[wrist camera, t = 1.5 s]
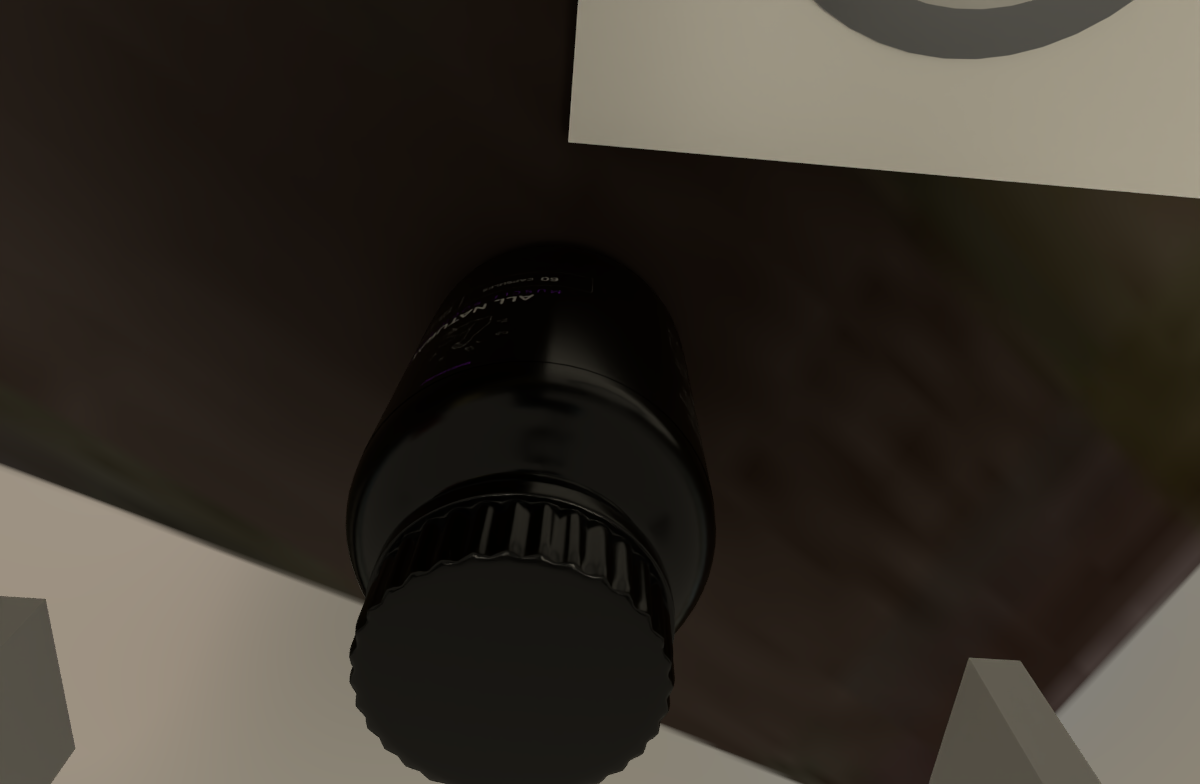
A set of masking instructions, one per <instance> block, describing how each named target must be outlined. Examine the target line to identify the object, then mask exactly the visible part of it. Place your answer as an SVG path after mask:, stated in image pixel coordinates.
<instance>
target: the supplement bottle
mask: <svg viewBox="0 0 1200 784" xmlns="http://www.w3.org/2000/svg"><path fill="white" fill-rule="evenodd" d="M346 536H347V545H348V550H349V555H350V560H351V563H352V567H353V570H354V573H355V576H356V579H357V581H358V583H359V586H360V588H361V590H362V592H363V594H364V596H365V602H364V605H363V607H362V610H361V612H360V615H359V618H358V620H357V624H356V631H355V637H354V640H353V642H352V645H351V648H350V655H349V658H350V661H351V664H352V666H353V667H352V670H351V673H350V684H351V686H352V688H353V689H354V690H355V692H356V707H357V708H358V709H359V710H360V712H362V713H363V714H364V716H365V717H366V724H367V728H368V729H369V730H370V731H371V732H373V733H374V734H375V735H376V736H378V737H379V738H380V740H381V742H382V745H383V746H384V749H386V750H388V751H389V752H391V753H393V754H395V755H397V756H398V757H399V758H400V760H401V761H402V762H403V763H404V765H405V766H406V767H409V768H412V769H415V770H418V771H420V772H421V773H422V774H423V775H424V776H426V777H427V778H428V779H429V780H431V781H435V782H440V783H445V784H599V783H600V782H601V781H603V780H604V779H605V777H606V776H608V775H610V774H613V773H617V772H620V771H623V769H624V768H625V767H626V766H627V764H628V762H629V761H630V760H632V759H633V758H635V757H638V756H640V755H641V754H643V752H644V750H645V747H646V744H647V742H648V741H649V740H651V739H653V738H654V737H655V736H656V735H657V734H658V732H659V728H660V721H661V720H662V719H663V718H664V717H665V715H666V714H667V713H668V711H669V707H670V693H671V691H672V689H673V687H674V681H675V676H674V664H673V640H674V634H675V633H676V632H677V631H678V629H679V628H680V627H681V626H682V625H683V623H684V622H685V621H686V619H687V618H688V616H689V615H690V613H691V612H692V610H693V609H694V607H695V605H696V604H697V602H698V600H699V598H700V596H701V594H702V592H703V590H704V587H705V585H706V582H707V580H708V577H709V573H710V570H711V566H712V562H713V557H714V550H715V539H716V525H715V513H714V502H713V496H712V491H711V486H710V481H709V476H708V471H707V466H706V461H705V456H704V452H703V447H702V442H701V437H700V432H699V427H698V422H697V417H696V412H695V407H694V402H693V397H692V392H691V387H690V383H689V378H688V373H687V368H686V363H685V358H684V354H683V350H682V346H681V342H680V339H679V336H678V333H677V330H676V327H675V325H674V323H673V321H672V318H671V316H670V314H669V313H668V311H667V309H666V308H665V306H664V304H663V303H662V302H661V300H660V299H659V297H658V296H657V295H656V294H655V293H654V291H653V290H652V289H651V288H650V287H649V286H648V285H647V284H646V283H645V282H644V281H643V280H642V279H641V278H639V277H638V276H637V275H636V274H634V273H633V272H632V271H630V270H629V269H627V268H626V267H624V266H622V265H621V264H619V263H617V262H615V261H613V260H611V259H609V258H607V257H605V256H602V255H599V254H596V253H594V252H590V251H586V250H582V249H578V248H571V247H562V246H539V247H531V248H525V249H521V250H516V251H513V252H510V253H507V254H504V255H501V256H499V257H497V258H494V259H492V260H490V261H488V262H487V263H485V264H483V265H481V266H480V267H478V268H477V269H475V270H474V271H473V272H471V273H470V274H468V275H467V276H466V277H465V278H464V279H463V280H462V281H461V282H460V283H459V284H458V285H457V286H456V287H455V288H454V289H453V290H452V291H451V292H450V294H449V295H448V296H447V298H446V299H445V300H444V302H443V303H442V305H441V306H440V308H439V310H438V312H437V313H436V315H435V317H434V318H433V320H432V322H431V323H430V325H429V327H428V329H427V331H426V333H425V335H424V337H423V339H422V340H421V342H420V344H419V346H418V348H417V350H416V352H415V354H414V356H413V358H412V360H411V362H410V363H409V365H408V367H407V369H406V371H405V373H404V375H403V377H402V379H401V381H400V383H399V385H398V387H397V388H396V390H395V392H394V394H393V396H392V398H391V400H390V402H389V404H388V406H387V408H386V410H385V411H384V413H383V415H382V417H381V419H380V421H379V423H378V425H377V427H376V429H375V431H374V433H373V435H372V436H371V438H370V440H369V442H368V444H367V446H366V448H365V450H364V453H363V455H362V457H361V460H360V462H359V465H358V467H357V469H356V472H355V475H354V478H353V481H352V484H351V488H350V491H349V497H348V502H347V512H346Z"/></svg>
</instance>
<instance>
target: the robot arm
mask: <svg viewBox="0 0 1200 784" xmlns="http://www.w3.org/2000/svg"><path fill="white" fill-rule="evenodd" d="M74 750H75V745H74V740H73V735H72V730H71V725H70V720H69V715H68V710H67V704H66V700H65V694H64V689H63V684H62V679H61V674H60V669H59V664H58V660H57V654H56V649H55V644H54V639H53V634H52V629H51V624H50V619H49V614H48V609H47V604H46V599H36V598H20V597H4V596H0V784H51V783H52V781H53V780H54V778H55V777H56V775H57V774H58V773H59V771H60V770H61V768H62V767H63V765H64V764H65V763H66V761H67V760H68V758H69V757H70V755H71V754H72V752H73V751H74ZM929 784H1101V782H1100V781H1099V779H1098V778H1097V776H1096V775H1095V773H1094V772H1093V770H1092V769H1091V767H1090V766H1089V764H1088V763H1087V761H1086V760H1085V758H1084V757H1083V755H1082V754H1081V752H1080V751H1079V749H1078V748H1077V746H1076V745H1075V743H1074V742H1073V740H1072V739H1071V737H1070V736H1069V734H1068V733H1067V731H1066V730H1065V728H1064V726H1063V725H1062V723H1061V722H1060V720H1059V719H1058V717H1057V716H1056V714H1055V713H1054V711H1053V710H1052V708H1051V707H1050V705H1049V704H1048V702H1047V701H1046V699H1045V698H1044V696H1043V695H1042V693H1041V692H1040V690H1039V689H1038V687H1037V685H1036V684H1035V682H1034V681H1033V679H1032V678H1031V676H1030V675H1029V673H1028V672H1027V670H1026V669H1025V667H1024V666H1023V664H1022V663H1021V661H1013V660H998V659H982V658H969V659H968V662H967V666H966V669H965V672H964V675H963V678H962V681H961V684H960V687H959V691H958V694H957V697H956V700H955V703H954V706H953V709H952V713H951V716H950V719H949V722H948V725H947V728H946V731H945V735H944V738H943V741H942V744H941V747H940V750H939V753H938V756H937V760H936V763H935V766H934V769H933V772H932V775H931V778H930V782H929Z"/></svg>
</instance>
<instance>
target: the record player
mask: <svg viewBox="0 0 1200 784" xmlns="http://www.w3.org/2000/svg"><path fill="white" fill-rule="evenodd" d="M568 142H571V143H583V144H594V145H605V146H616V147H628V148H639V149H650V150H661V151H673V152H684V153H695V154H707V155H718V156H729V157H740V158H752V159H763V160H774V161H785V162H797V163H808V164H819V165H830V166H842V167H853V168H864V169H876V170H887V171H898V172H909V173H921V174H932V175H943V176H954V177H966V178H977V179H988V180H999V181H1011V182H1022V183H1033V184H1045V185H1056V186H1067V187H1078V188H1090V189H1101V190H1112V191H1123V192H1135V193H1146V194H1157V195H1168V196H1180V197H1191V198H1200V0H578V10H577V24H576V39H575V53H574V67H573V81H572V95H571V109H570V124H569V138H568Z"/></svg>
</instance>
